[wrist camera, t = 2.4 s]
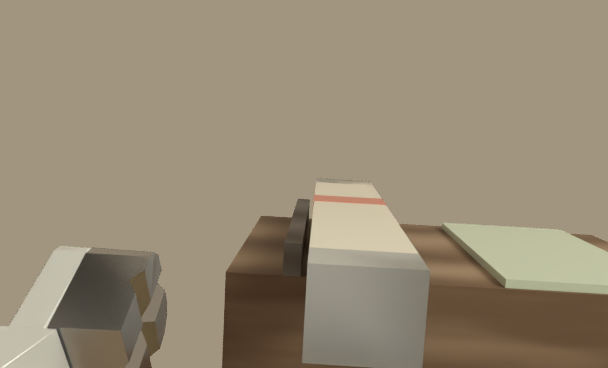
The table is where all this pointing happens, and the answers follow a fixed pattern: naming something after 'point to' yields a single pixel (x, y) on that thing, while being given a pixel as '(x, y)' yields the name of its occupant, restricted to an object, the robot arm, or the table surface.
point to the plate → (534, 257)
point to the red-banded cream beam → (362, 283)
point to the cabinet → (440, 309)
